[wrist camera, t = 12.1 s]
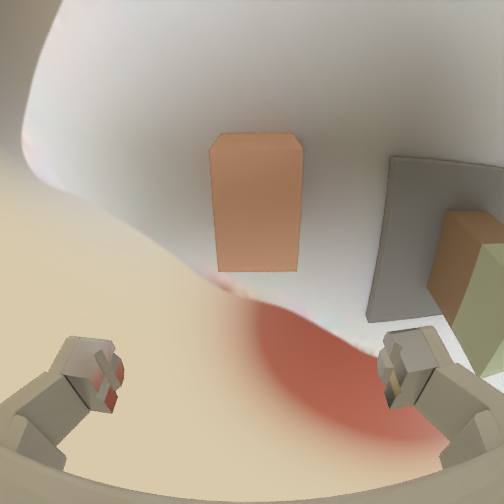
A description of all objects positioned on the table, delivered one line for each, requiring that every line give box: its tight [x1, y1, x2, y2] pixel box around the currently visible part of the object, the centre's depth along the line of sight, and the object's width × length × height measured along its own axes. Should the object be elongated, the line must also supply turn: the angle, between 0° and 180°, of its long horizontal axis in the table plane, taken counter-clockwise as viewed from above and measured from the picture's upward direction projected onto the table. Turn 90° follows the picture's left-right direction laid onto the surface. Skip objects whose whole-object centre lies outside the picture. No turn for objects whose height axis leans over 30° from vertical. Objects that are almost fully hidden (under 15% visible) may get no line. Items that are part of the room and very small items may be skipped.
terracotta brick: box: [209, 133, 303, 272], centre depth 18 cm, size 4×7×5 cm, turn 1°
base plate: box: [366, 156, 504, 328], centre depth 20 cm, size 14×14×6 cm
